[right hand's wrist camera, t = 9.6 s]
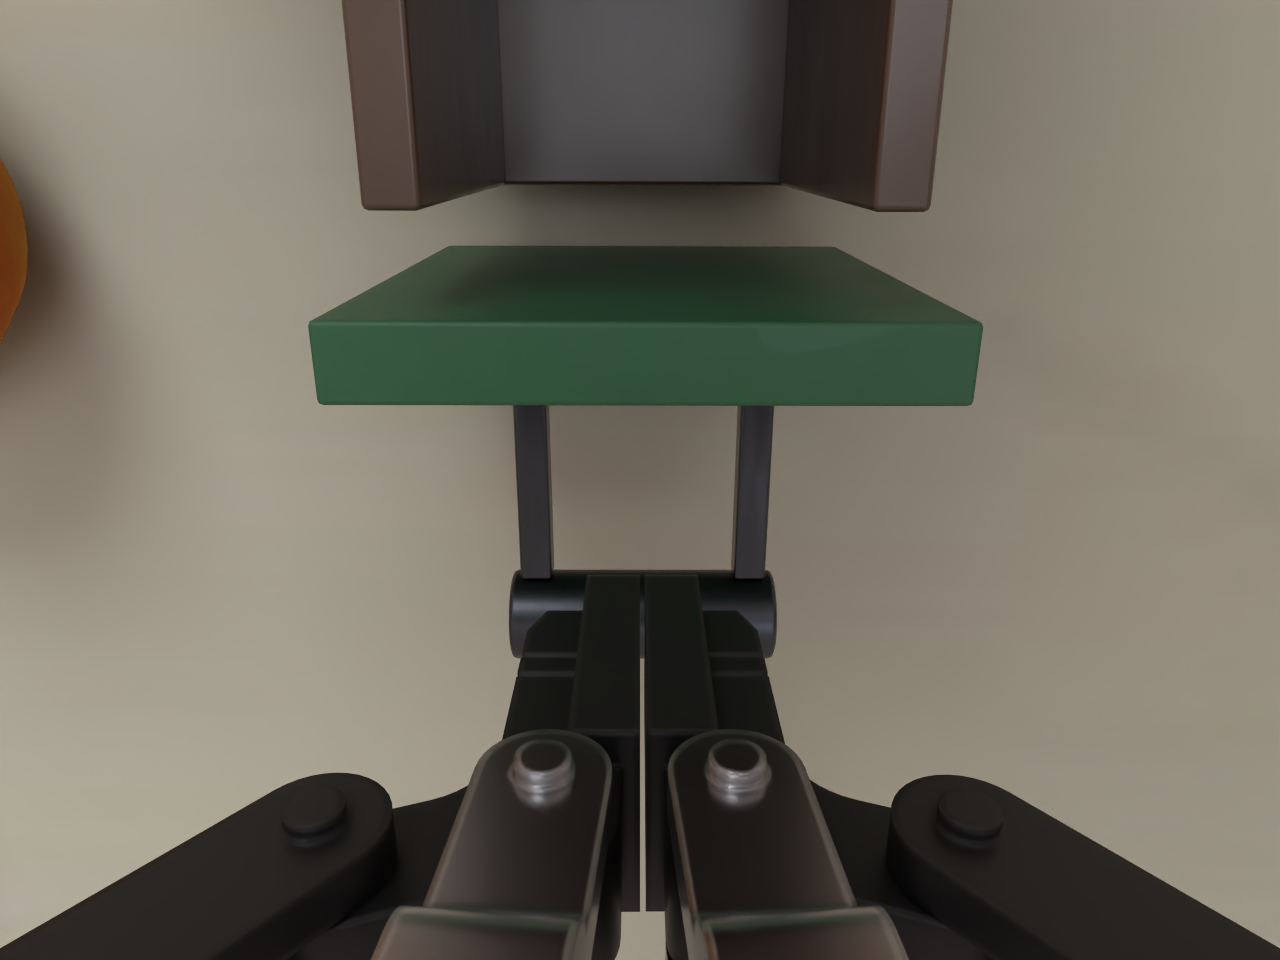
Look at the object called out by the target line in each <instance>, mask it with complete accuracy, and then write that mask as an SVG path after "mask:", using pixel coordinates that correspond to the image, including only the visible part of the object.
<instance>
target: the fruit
mask: <svg viewBox="0 0 1280 960" xmlns="http://www.w3.org/2000/svg"><path fill="white" fill-rule="evenodd" d="M27 257H28V246H27V236H26V229H25V223H24V217H23V212H22V208H21V205H20V202H19V198H18V195H17V193H16V190H15V187H14V184H13V182H12V180H11V178H10V176H9V174H8V172H7V170H6V168H5V166H4V165H3V163H2V161H1V159H0V343H1V342H2V340H3V337H4V335H5V333H6V331H7V329H8V327H9V325H10V323H11V320H12V317H13V315H14V312H15V310H16V308H17V307H18V305H19V302H20V298H21V295H22V292H23V289H24V286H25V282H26V275H27Z"/></svg>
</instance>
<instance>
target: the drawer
mask: <svg viewBox="0 0 1280 960" xmlns="http://www.w3.org/2000/svg"><path fill="white" fill-rule="evenodd" d="M952 3H953V0H342V8H343V19H344V29H345V39H346V49H347V59H348V69H349V80H350V90H351V100H352V110H353V120H354V130H355V140H356V151H357V161H358V171H359V181H360V191H361V201H362V205H363V207H364V209H366V210H419V209H423V208H426V207H429V206H433V205H436V204H439V203H443V202H446V201H449V200H453V199H456V198H460V197H463V196H466V195H470V194H473V193H476V192H480V191H483V190H486V189H490V188H493V187H496V186H500V185H783V186H787V187H790V188H794V189H797V190H801V191H804V192H808V193H812V194H815V195H819V196H822V197H826V198H830V199H833V200H837V201H840V202H844V203H847V204H851V205H855V206H858V207H862V208H865V209H869V210H873V211H876V212H924V211H927V210H928V209H929V207H930V205H931V197H932V188H933V179H934V169H935V160H936V151H937V142H938V132H939V123H940V114H941V105H942V96H943V86H944V77H945V68H946V59H947V50H948V40H949V31H950V22H951V13H952ZM308 327H309V336H310V344H311V352H312V360H313V368H314V376H315V384H316V392H317V399H318V402H319V403H320V404H323V405H513V414H514V435H515V457H516V478H517V499H518V521H519V542H520V563H521V570H517V571H516V572H515V573H514V576H513V579H512V583H511V590H510V601H509V637H510V646H511V651H512V653H513V656H514V657H516V658H522V651H523V647H524V643H525V638H526V634H527V630H528V629H529V628H530V627H531V626H532V625H533V624H534V623H535V622H536V621H537V620H538V619H539V618H540V617H541V616H542V615H544V614H545V613H546V612H547V611H583V603H584V595H585V587H586V579H587V575H640V658H644V633H645V575H698V581H699V588H700V596H701V603H702V610H737V611H738V612H739V613H740V614H741V615H742V616H743V617H744V618H745V619H747V620H748V621H749V622H750V623H751V624H752V625H753V626H754V627H755V628H756V629H757V630H758V634H759V639H760V643H761V647H762V651H763V657H764V658H769V657H771V656H772V655H773V652H774V649H775V643H776V632H777V607H776V594H775V586H774V581H773V578H772V575H771V573H770V572H769V571H767V570H765V560H766V542H767V524H768V506H769V488H770V470H771V452H772V434H773V416H774V406H968V405H971V404H972V402H973V398H974V391H975V383H976V376H977V368H978V361H979V353H980V346H981V338H982V331H983V326H982V323H980V322H979V321H977V320H975V319H973V318H971V317H969V316H967V315H965V314H963V313H961V312H959V311H957V310H955V309H953V308H951V307H950V306H948V305H946V304H944V303H942V302H940V301H938V300H936V299H934V298H932V297H930V296H928V295H926V294H924V293H922V292H921V291H919V290H917V289H915V288H913V287H911V286H909V285H907V284H905V283H903V282H901V281H899V280H897V279H895V278H893V277H892V276H890V275H888V274H886V273H884V272H882V271H880V270H878V269H876V268H874V267H872V266H870V265H868V264H866V263H864V262H862V261H861V260H859V259H857V258H855V257H853V256H851V255H849V254H847V253H845V252H843V251H841V250H839V249H837V248H835V247H670V246H448V247H446V248H445V249H443V250H441V251H439V252H437V253H435V254H433V255H432V256H430V257H428V258H426V259H424V260H422V261H421V262H419V263H417V264H415V265H413V266H411V267H410V268H408V269H406V270H404V271H402V272H400V273H398V274H397V275H395V276H393V277H391V278H389V279H387V280H386V281H384V282H382V283H380V284H378V285H376V286H374V287H373V288H371V289H369V290H367V291H365V292H363V293H362V294H360V295H358V296H356V297H354V298H352V299H351V300H349V301H347V302H345V303H343V304H341V305H339V306H338V307H336V308H334V309H332V310H330V311H328V312H327V313H325V314H323V315H321V316H319V317H317V318H315V319H314V320H312V321H310V322H309V326H308ZM549 405H688V406H738V415H737V439H736V463H735V488H734V512H733V536H732V560H731V567H732V570H553V569H554V545H553V515H552V484H551V454H550V423H549Z"/></svg>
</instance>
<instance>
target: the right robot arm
mask: <svg viewBox="0 0 1280 960" xmlns="http://www.w3.org/2000/svg"><path fill="white" fill-rule="evenodd" d="M644 720H645V848H646V911H665V932H666V957H665V960H1280V948H1278V947H1277V946H1275V945H1273V944H1271V943H1270V942H1268V941H1266V940H1264V939H1263V938H1261V937H1259V936H1257V935H1256V934H1254V933H1252V932H1251V931H1249V930H1247V929H1245V928H1244V927H1242V926H1240V925H1238V924H1237V923H1235V922H1233V921H1231V920H1230V919H1228V918H1226V917H1225V916H1223V915H1221V914H1219V913H1218V912H1216V911H1214V910H1212V909H1211V908H1209V907H1207V906H1205V905H1204V904H1202V903H1200V902H1199V901H1197V900H1195V899H1193V898H1192V897H1190V896H1188V895H1186V894H1185V893H1183V892H1181V891H1179V890H1178V889H1176V888H1174V887H1173V886H1171V885H1169V884H1167V883H1166V882H1164V881H1162V880H1160V879H1159V878H1157V877H1155V876H1153V875H1152V874H1150V873H1148V872H1147V871H1145V870H1143V869H1141V868H1140V867H1138V866H1136V865H1134V864H1133V863H1131V862H1129V861H1127V860H1126V859H1124V858H1122V857H1121V856H1119V855H1117V854H1115V853H1114V852H1112V851H1110V850H1108V849H1107V848H1105V847H1103V846H1101V845H1100V844H1098V843H1096V842H1095V841H1093V840H1091V839H1089V838H1088V837H1086V836H1084V835H1082V834H1081V833H1079V832H1077V831H1075V830H1074V829H1072V828H1070V827H1069V826H1067V825H1065V824H1063V823H1062V822H1060V821H1058V820H1056V819H1055V818H1053V817H1051V816H1049V815H1048V814H1046V813H1044V812H1043V811H1041V810H1039V809H1037V808H1036V807H1034V806H1032V805H1030V804H1029V803H1027V802H1025V801H1023V800H1022V799H1020V798H1018V797H1017V796H1015V795H1013V794H1011V793H1010V792H1008V791H1006V790H1004V789H1002V788H1000V787H998V786H995V785H993V784H990V783H988V782H985V781H981V780H978V779H974V778H970V777H964V776H957V775H933V776H927V777H923V778H919V779H916V780H914V781H912V782H910V783H908V784H906V785H905V786H904V787H902V788H901V789H900V790H899V791H898V793H897V794H896V795H895V797H894V799H893V802H892V806H891V808H889V807H885V806H881V805H876V804H872V803H867V802H863V801H859V800H855V799H851V798H847V797H844V796H841V795H838V794H836V793H833V792H831V791H829V790H827V789H825V788H823V787H821V786H819V785H817V784H816V783H814V782H813V781H811V780H810V779H809V777H808V774H807V772H806V769H805V767H804V765H803V763H802V761H801V759H800V758H799V757H798V756H797V754H796V753H795V752H794V751H793V750H791V749H790V748H789V747H788V746H786V745H785V743H784V739H783V734H782V730H781V726H780V722H779V718H778V714H777V709H776V705H775V701H774V697H773V693H772V689H771V684H770V680H769V677H768V675H767V668H766V664H765V659H764V657H763V651H762V647H761V643H760V639H759V634H758V630H757V629H756V628H755V627H754V626H753V625H752V624H751V623H750V622H749V621H748V620H747V619H745V618H744V617H743V616H742V615H741V614H740V613H739V612H738V611H737V610H702V603H701V596H700V588H699V581H698V575H645V633H644ZM621 912H640V575H587V579H586V587H585V595H584V603H583V611H547V612H546V613H545V614H544V615H542V616H541V617H540V618H539V619H538V620H537V621H536V622H535V623H534V624H533V625H532V626H531V627H530V628H529V629H528V630H527V634H526V638H525V643H524V647H523V651H522V658H521V660H520V664H519V669H518V677H516V682H515V686H514V691H513V695H512V699H511V704H510V708H509V712H508V717H507V721H506V725H505V730H504V734H503V738H502V741H500V742H498V743H497V744H495V745H494V746H492V747H491V748H490V749H489V750H487V751H486V752H485V753H484V754H483V756H482V757H481V758H480V759H479V761H478V763H477V765H476V767H475V769H474V772H473V774H472V777H471V780H470V782H469V785H468V786H466V787H464V788H462V789H460V790H458V791H457V792H454V793H451V794H449V795H446V796H444V797H440V798H437V799H433V800H429V801H425V802H421V803H416V804H412V805H407V806H403V807H399V808H394V809H392V802H391V799H390V797H389V794H388V793H387V792H386V790H385V789H384V788H383V787H382V786H381V785H380V784H378V783H377V782H375V781H373V780H371V779H370V778H367V777H364V776H361V775H356V774H350V773H326V774H319V775H314V776H309V777H306V778H302V779H299V780H296V781H293V782H291V783H288V784H286V785H284V786H282V787H280V788H278V789H276V790H274V791H272V792H270V793H269V794H267V795H265V796H264V797H262V798H260V799H258V800H257V801H255V802H253V803H251V804H250V805H248V806H246V807H244V808H243V809H241V810H239V811H238V812H236V813H234V814H232V815H231V816H229V817H227V818H225V819H224V820H222V821H220V822H218V823H217V824H215V825H213V826H212V827H210V828H208V829H206V830H205V831H203V832H201V833H199V834H198V835H196V836H194V837H192V838H191V839H189V840H187V841H186V842H184V843H182V844H180V845H179V846H177V847H175V848H173V849H172V850H170V851H168V852H166V853H165V854H163V855H161V856H160V857H158V858H156V859H154V860H153V861H151V862H149V863H147V864H146V865H144V866H142V867H140V868H139V869H137V870H135V871H133V872H132V873H130V874H128V875H127V876H125V877H123V878H121V879H120V880H118V881H116V882H114V883H113V884H111V885H109V886H107V887H106V888H104V889H102V890H101V891H99V892H97V893H95V894H94V895H92V896H90V897H88V898H87V899H85V900H83V901H81V902H80V903H78V904H76V905H75V906H73V907H71V908H69V909H68V910H66V911H64V912H62V913H61V914H59V915H57V916H55V917H54V918H52V919H50V920H49V921H47V922H45V923H43V924H42V925H40V926H38V927H36V928H35V929H33V930H31V931H29V932H28V933H26V934H24V935H23V936H21V937H19V938H17V939H16V940H14V941H12V942H10V943H9V944H7V945H5V946H3V947H2V948H0V960H615V958H616V956H617V953H618V950H619V947H620V939H621Z"/></svg>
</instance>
